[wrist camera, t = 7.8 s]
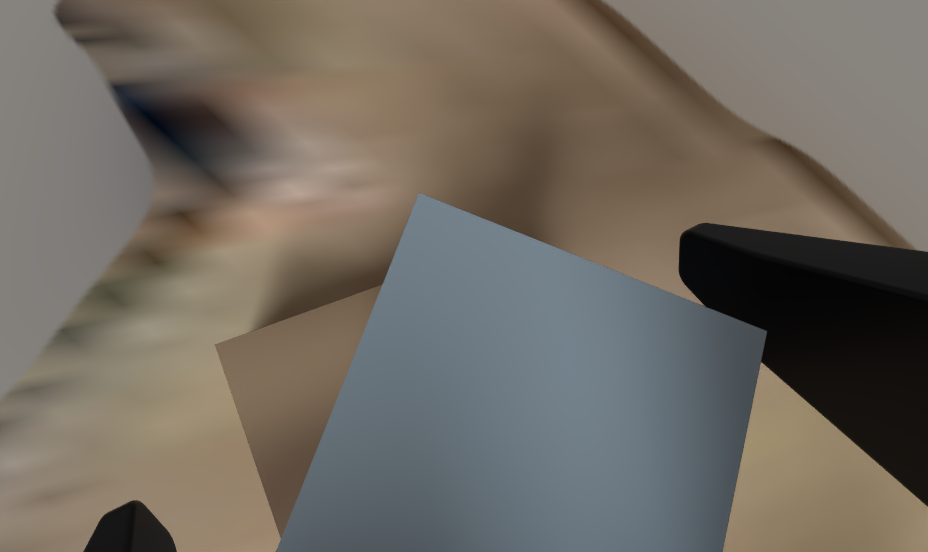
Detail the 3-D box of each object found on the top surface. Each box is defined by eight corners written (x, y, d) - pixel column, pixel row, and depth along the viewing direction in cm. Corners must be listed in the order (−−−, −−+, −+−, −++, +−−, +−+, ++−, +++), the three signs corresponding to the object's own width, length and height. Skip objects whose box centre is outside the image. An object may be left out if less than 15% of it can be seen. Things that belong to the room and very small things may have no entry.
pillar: (521, 378, 18) (767, 331, 7) (474, 532, 16) (682, 748, 6) (380, 326, 17) (418, 193, 7) (321, 479, 16) (252, 609, 6)
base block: (572, 499, 21) (621, 517, 17) (331, 620, 19) (326, 672, 15) (477, 270, 22) (503, 240, 19) (240, 358, 20) (214, 344, 16)
